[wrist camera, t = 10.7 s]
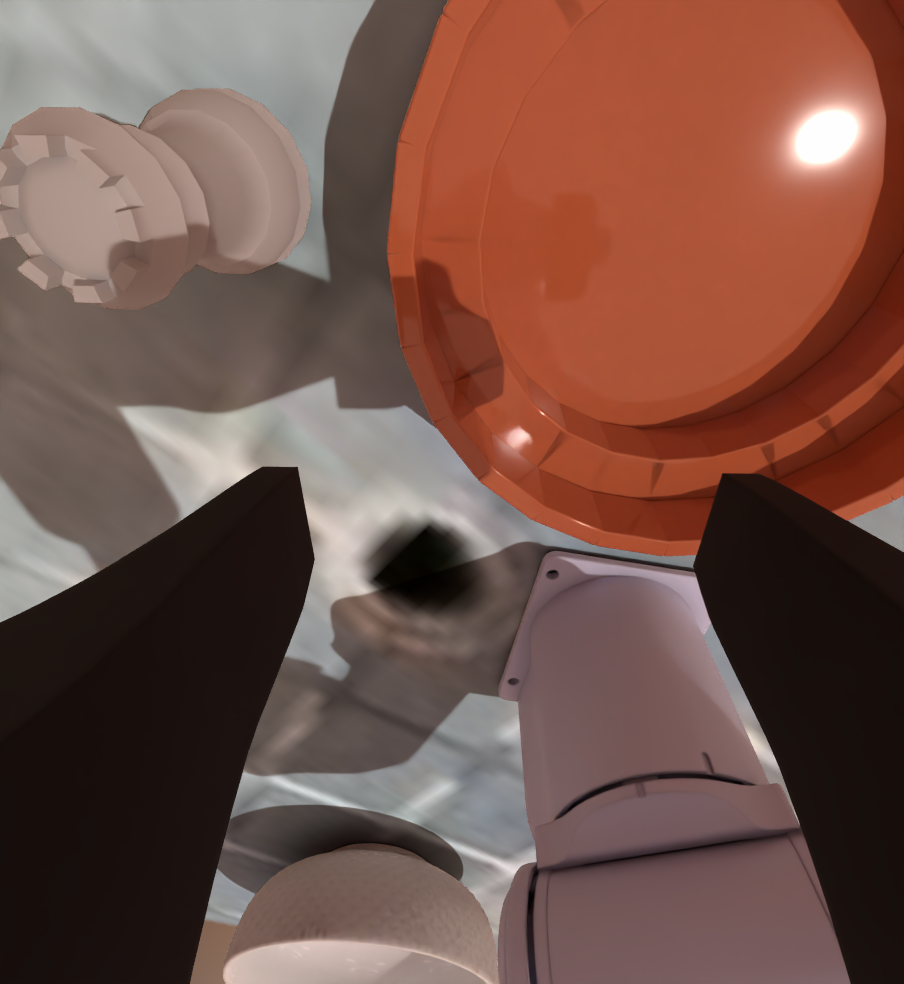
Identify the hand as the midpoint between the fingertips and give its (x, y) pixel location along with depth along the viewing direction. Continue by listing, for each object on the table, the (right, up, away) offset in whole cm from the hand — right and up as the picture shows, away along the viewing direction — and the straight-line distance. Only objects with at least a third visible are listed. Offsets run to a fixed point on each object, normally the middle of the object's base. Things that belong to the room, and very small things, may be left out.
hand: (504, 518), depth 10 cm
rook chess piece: (-7, +9, +6) cm, 13 cm away
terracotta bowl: (+6, +8, +6) cm, 12 cm away
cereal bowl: (-6, -26, +30) cm, 40 cm away
